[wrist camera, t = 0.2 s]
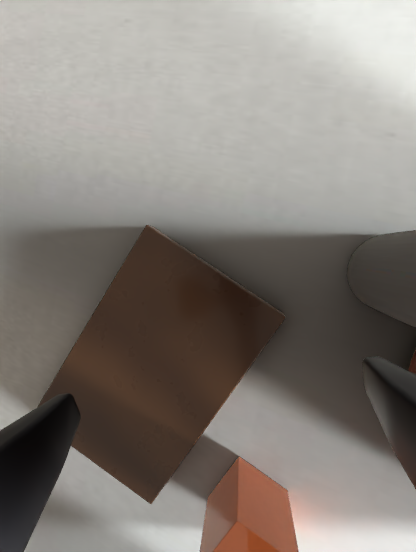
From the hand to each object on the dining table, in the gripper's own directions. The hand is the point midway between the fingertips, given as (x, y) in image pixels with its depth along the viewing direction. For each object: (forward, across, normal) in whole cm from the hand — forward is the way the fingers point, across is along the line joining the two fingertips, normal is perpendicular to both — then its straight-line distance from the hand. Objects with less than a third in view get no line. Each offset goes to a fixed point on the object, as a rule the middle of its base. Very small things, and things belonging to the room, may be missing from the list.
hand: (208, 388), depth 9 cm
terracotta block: (+11, +2, +20) cm, 23 cm away
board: (+14, +8, +8) cm, 17 cm away
